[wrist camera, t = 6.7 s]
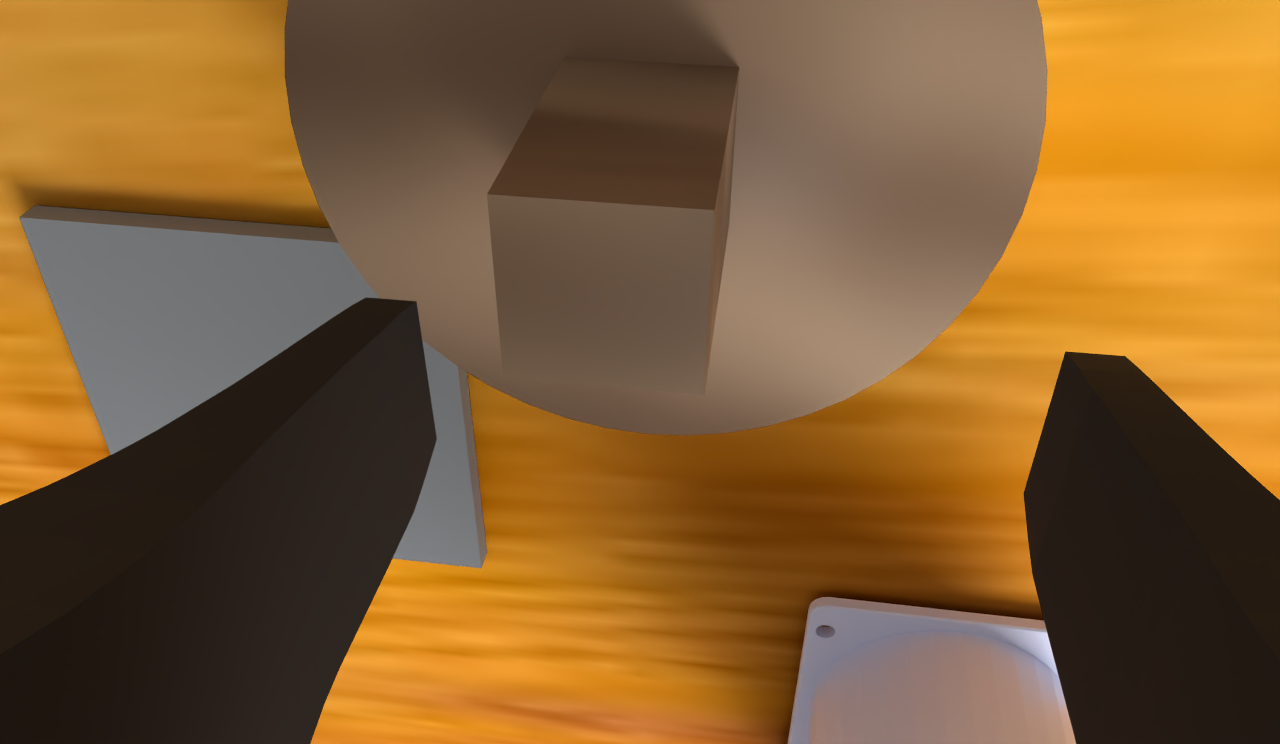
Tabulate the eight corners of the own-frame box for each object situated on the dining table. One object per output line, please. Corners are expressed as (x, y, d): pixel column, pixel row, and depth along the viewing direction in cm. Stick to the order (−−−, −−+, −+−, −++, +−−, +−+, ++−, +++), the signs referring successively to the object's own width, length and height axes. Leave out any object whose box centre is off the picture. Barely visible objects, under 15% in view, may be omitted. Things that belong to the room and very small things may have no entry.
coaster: (486, 552, 29) (481, 568, 29) (150, 515, 30) (139, 530, 30) (452, 237, 23) (444, 251, 23) (35, 205, 24) (19, 217, 24)
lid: (958, 435, 20) (996, 664, 15) (362, 381, 21) (246, 579, 17) (1136, -298, 13) (1295, -250, 8) (232, -314, 14) (-25, -278, 10)
